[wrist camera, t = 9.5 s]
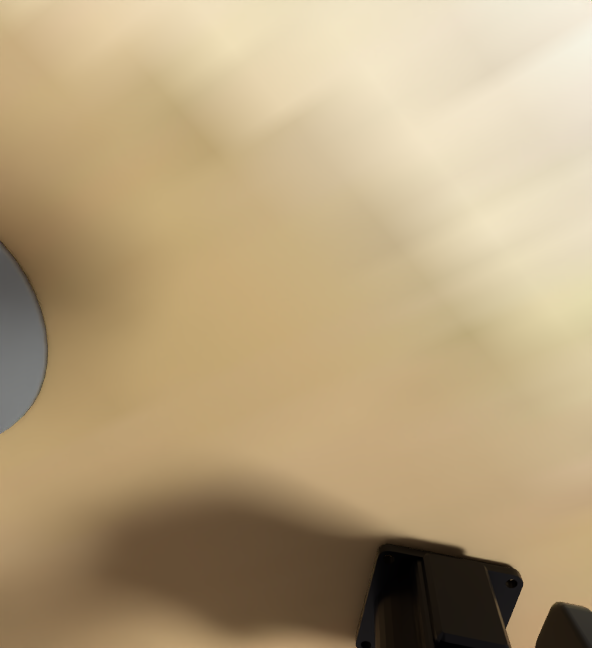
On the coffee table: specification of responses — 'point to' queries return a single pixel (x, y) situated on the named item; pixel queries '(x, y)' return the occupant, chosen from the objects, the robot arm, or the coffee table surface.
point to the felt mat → (19, 342)
